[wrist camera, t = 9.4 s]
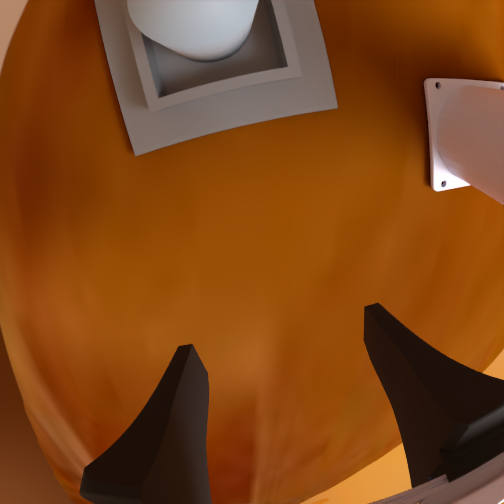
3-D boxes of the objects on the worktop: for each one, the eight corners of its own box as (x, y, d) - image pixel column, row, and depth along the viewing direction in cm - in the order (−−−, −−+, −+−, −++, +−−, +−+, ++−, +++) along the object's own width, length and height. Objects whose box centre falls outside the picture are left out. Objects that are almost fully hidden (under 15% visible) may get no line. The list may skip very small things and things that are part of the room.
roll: (244, -14, 12) (251, -67, 6) (255, 56, 14) (269, 36, 8) (163, 1, 12) (123, -42, 6) (173, 70, 14) (134, 61, 8)
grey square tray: (289, -63, 11) (297, -81, 8) (334, 107, 16) (350, 111, 14) (95, -13, 11) (77, -24, 9) (138, 154, 17) (124, 164, 15)
